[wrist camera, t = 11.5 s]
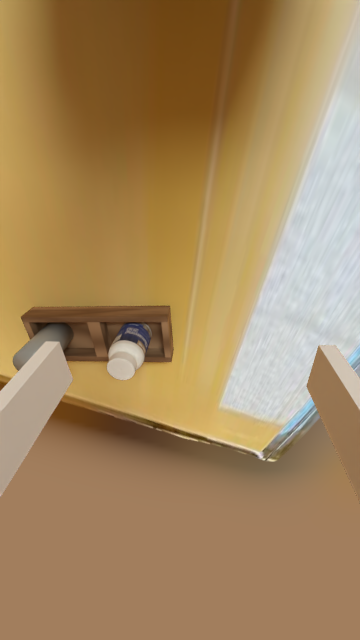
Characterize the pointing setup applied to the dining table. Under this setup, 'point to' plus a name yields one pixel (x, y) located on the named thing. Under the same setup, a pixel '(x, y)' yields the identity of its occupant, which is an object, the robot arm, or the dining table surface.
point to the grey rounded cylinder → (47, 333)
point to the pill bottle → (128, 350)
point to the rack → (104, 329)
